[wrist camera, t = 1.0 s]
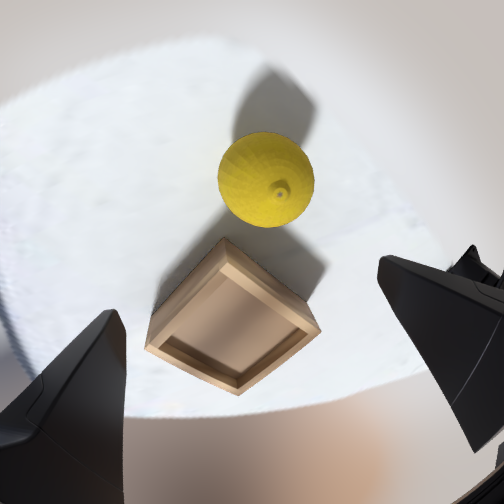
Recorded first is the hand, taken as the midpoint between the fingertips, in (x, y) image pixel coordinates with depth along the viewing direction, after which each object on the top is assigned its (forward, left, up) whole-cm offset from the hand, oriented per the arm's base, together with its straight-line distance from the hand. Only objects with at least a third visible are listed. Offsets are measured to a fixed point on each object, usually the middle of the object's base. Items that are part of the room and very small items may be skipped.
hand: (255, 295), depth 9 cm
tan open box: (-7, +8, -13) cm, 17 cm away
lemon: (0, -3, -14) cm, 14 cm away
